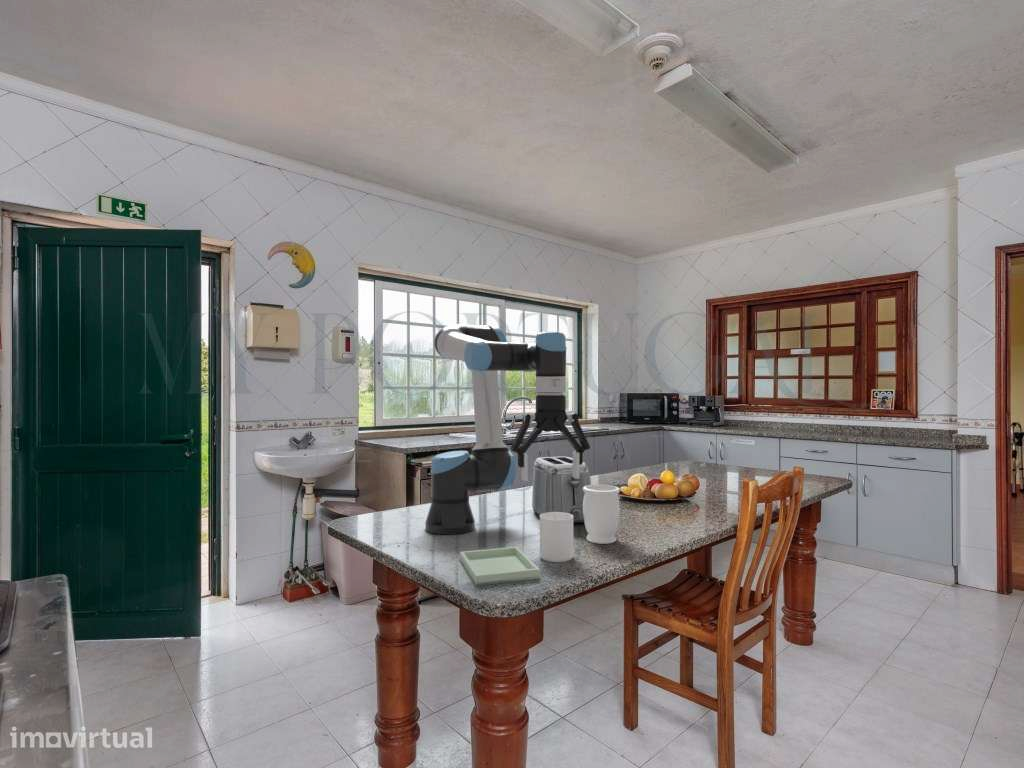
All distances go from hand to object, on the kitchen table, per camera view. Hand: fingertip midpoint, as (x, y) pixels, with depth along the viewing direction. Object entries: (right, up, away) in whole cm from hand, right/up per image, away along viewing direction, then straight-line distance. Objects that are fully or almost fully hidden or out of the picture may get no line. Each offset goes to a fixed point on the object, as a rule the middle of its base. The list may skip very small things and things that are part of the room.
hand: (550, 479), depth 136 cm
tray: (-13, -21, -5) cm, 25 cm away
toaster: (+7, -21, +46) cm, 51 cm away
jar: (+16, -21, +19) cm, 32 cm away
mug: (+1, -21, +5) cm, 22 cm away
